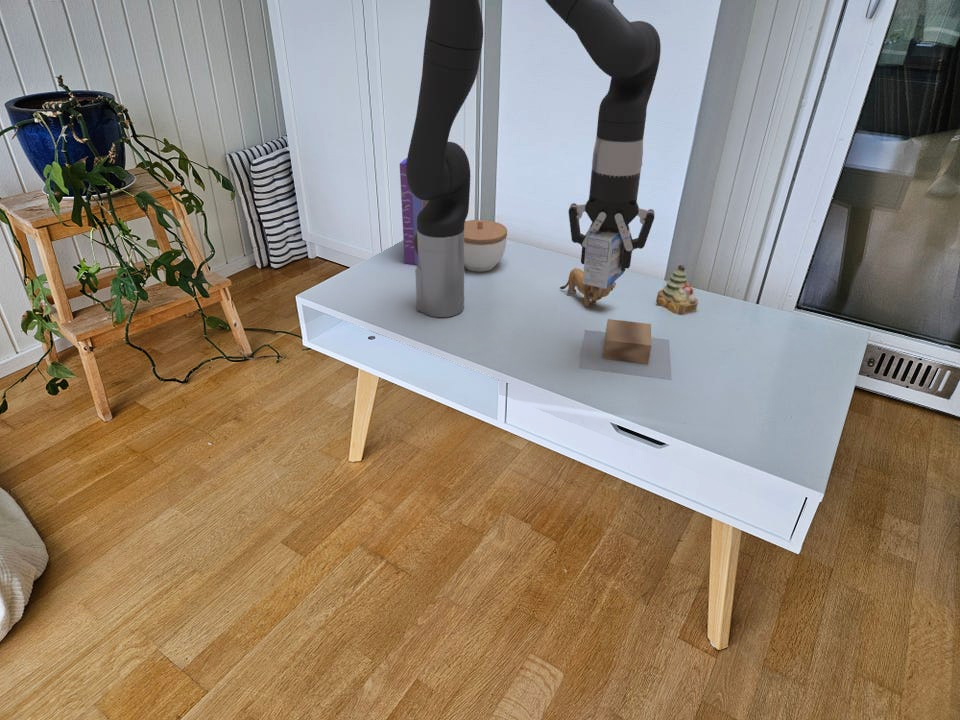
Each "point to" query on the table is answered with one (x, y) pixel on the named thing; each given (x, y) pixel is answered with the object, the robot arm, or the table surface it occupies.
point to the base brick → (627, 341)
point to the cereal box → (409, 217)
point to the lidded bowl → (483, 244)
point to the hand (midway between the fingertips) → (605, 267)
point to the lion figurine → (585, 287)
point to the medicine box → (603, 259)
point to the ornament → (677, 294)
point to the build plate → (594, 361)
